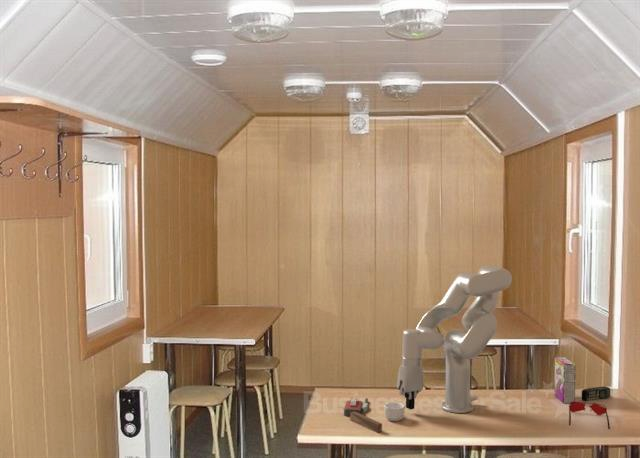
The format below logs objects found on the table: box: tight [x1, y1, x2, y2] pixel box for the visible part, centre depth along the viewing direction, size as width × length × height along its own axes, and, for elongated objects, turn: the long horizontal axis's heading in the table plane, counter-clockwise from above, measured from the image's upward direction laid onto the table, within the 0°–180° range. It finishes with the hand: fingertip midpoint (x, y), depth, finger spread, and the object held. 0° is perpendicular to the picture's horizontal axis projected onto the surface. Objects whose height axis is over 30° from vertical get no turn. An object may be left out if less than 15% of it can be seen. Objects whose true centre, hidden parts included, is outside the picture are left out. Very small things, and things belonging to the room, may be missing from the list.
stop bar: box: [349, 411, 383, 434], centre depth 242 cm, size 2×16×3 cm, turn 35°
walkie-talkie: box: [343, 398, 369, 417], centre depth 261 cm, size 9×4×20 cm
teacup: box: [383, 401, 406, 422], centre depth 250 cm, size 10×8×5 cm
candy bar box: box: [554, 356, 576, 405], centre depth 272 cm, size 11×5×16 cm, turn 179°
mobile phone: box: [581, 386, 612, 402], centre depth 273 cm, size 5×3×15 cm
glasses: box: [568, 401, 611, 430], centre depth 248 cm, size 14×16×5 cm
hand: (410, 408), depth 255 cm, fingers closed
